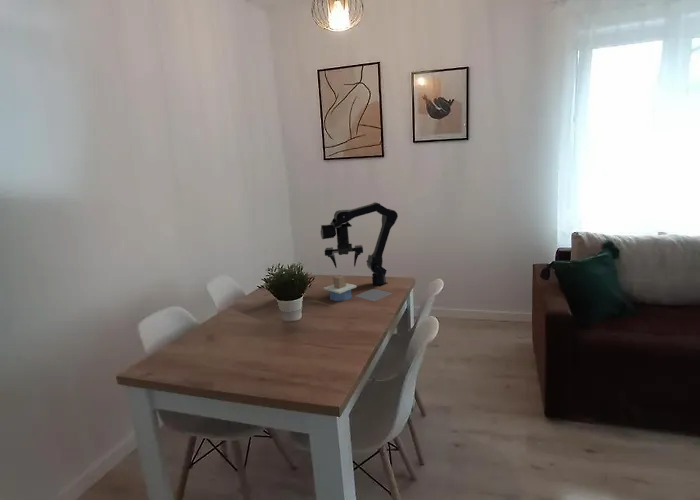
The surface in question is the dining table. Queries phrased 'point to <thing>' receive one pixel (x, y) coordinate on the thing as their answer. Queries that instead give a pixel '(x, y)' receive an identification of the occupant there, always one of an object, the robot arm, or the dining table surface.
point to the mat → (373, 295)
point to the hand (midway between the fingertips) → (345, 267)
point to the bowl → (340, 296)
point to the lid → (339, 285)
